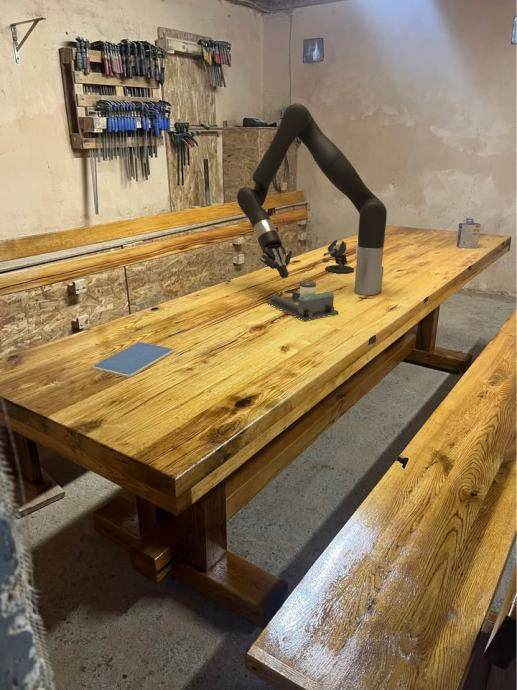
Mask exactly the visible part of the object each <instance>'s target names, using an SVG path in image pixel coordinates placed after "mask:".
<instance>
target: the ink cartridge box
mask: <svg viewBox="0 0 517 690" xmlns="http://www.w3.org/2000/svg"><path fill="white" fill-rule="evenodd" d="M481 228H482V224H481V223H478V222H474V218H466V220H465V222H459V224H458V231H457V239H456V247H457V248H459V249H468V248H469V249H477V248H478V247H479V241H480V234H481Z"/></svg>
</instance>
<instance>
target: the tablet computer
mask: <svg viewBox="0 0 517 690" xmlns="http://www.w3.org/2000/svg"><path fill="white" fill-rule="evenodd" d="M175 351H176V350H175V349H173V348H170V347H166V346H161V345H156V344H151V343H147V342H141V341H137V342H136V343H134V344H132V345H130V346H128V347H126V348H125V349H122V350H120V351H119V352H117V353H115V354H113V355H110V356H109V357H107V358H105V359H103V360H101V361H99V362H98V363H96V364H93V365H92V367H91V369H92V370H95V371H99V372H104V373H107V374H111V375H115V376H118V377H119V376H120V377H123V378H126V379H130V378H133V377H134V376H137V374H139V373H141V372H142V371H144V370H146V369H148V368H149V367H151V366H153V365H154V364H156V363H158V362H159V361H161V360H163V359H164V358H166V357H168V356H169V355H172V354H174V353H175Z"/></svg>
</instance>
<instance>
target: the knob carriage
mask: <svg viewBox="0 0 517 690" xmlns="http://www.w3.org/2000/svg"><path fill="white" fill-rule="evenodd" d="M316 286H317V282H316V281H313V280H301V281H299V293H300V297H302V296H308V295H313V294H316ZM294 304H297V305H298V302H297V303H294Z"/></svg>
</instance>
